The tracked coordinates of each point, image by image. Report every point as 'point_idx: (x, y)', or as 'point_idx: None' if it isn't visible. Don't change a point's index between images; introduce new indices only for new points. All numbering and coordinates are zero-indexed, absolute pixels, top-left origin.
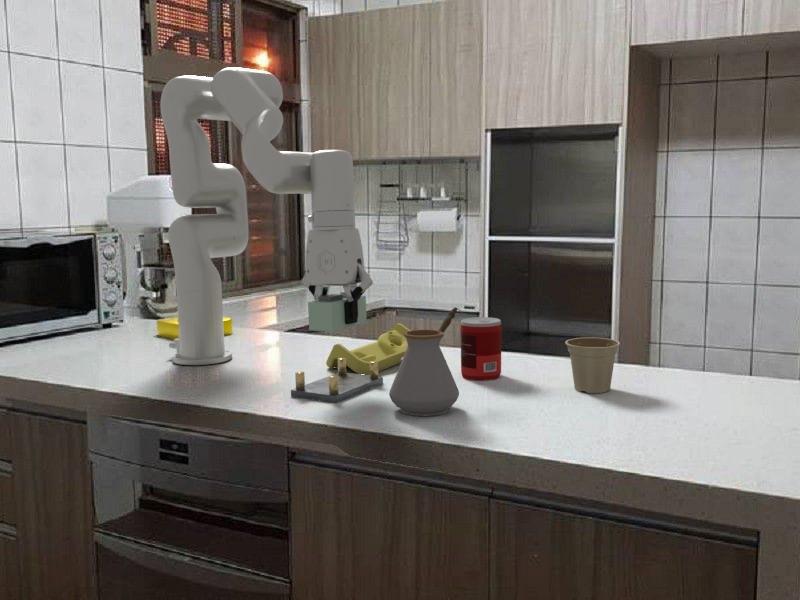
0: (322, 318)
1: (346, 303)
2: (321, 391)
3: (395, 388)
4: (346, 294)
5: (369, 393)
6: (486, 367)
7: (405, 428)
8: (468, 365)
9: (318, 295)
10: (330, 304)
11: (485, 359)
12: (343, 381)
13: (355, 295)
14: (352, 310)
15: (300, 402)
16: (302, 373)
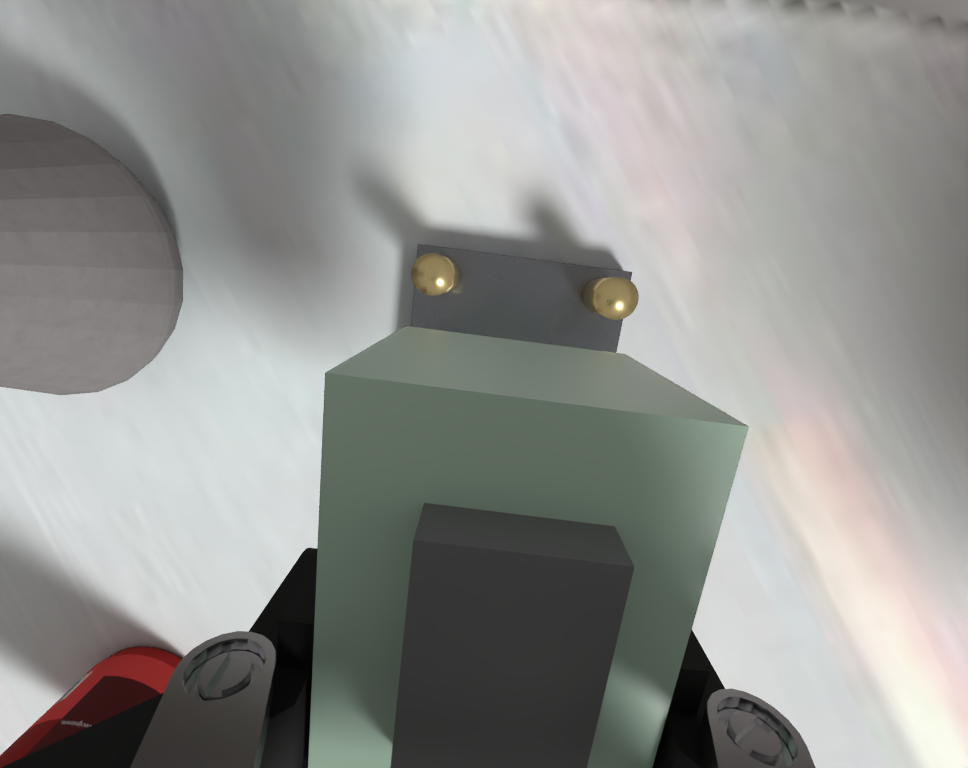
0: (496, 355)
1: (291, 610)
2: (503, 289)
3: (69, 155)
4: (235, 725)
5: None
6: (72, 688)
7: (29, 12)
8: (127, 687)
9: (739, 754)
10: (346, 366)
11: (47, 713)
12: None
13: (123, 733)
14: (284, 590)
15: (551, 208)
16: (599, 290)
